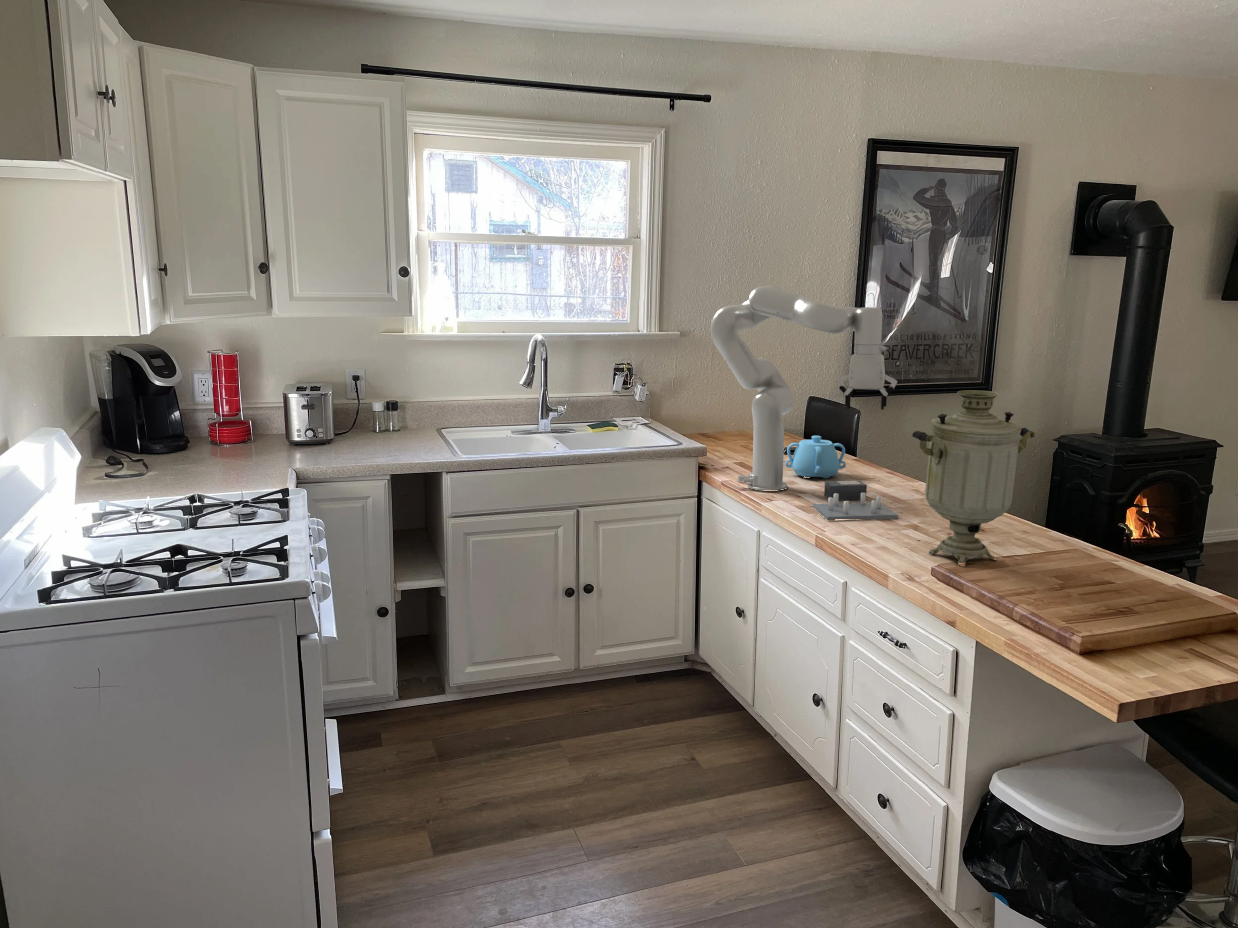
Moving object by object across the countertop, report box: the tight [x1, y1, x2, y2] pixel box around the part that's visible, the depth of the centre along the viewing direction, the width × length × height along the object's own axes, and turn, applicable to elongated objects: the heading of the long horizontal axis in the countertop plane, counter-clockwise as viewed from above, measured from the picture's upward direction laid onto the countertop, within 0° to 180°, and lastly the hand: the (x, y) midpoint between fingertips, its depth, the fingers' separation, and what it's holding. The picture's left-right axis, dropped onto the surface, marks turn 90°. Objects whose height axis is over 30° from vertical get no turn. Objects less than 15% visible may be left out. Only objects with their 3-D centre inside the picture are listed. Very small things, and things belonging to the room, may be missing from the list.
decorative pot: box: [784, 435, 847, 479], centre depth 306 cm, size 16×16×14 cm
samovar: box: [911, 389, 1036, 564], centre depth 219 cm, size 30×26×40 cm
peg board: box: [812, 493, 899, 521], centre depth 260 cm, size 20×14×5 cm
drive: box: [823, 479, 868, 502], centre depth 276 cm, size 11×6×5 cm, turn 95°
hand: (865, 408), depth 270 cm, fingers open, 9 cm apart
